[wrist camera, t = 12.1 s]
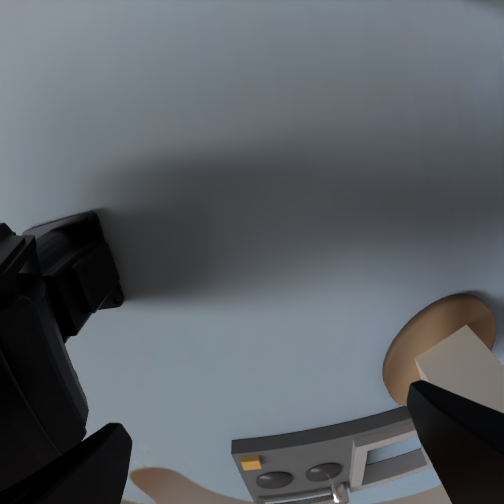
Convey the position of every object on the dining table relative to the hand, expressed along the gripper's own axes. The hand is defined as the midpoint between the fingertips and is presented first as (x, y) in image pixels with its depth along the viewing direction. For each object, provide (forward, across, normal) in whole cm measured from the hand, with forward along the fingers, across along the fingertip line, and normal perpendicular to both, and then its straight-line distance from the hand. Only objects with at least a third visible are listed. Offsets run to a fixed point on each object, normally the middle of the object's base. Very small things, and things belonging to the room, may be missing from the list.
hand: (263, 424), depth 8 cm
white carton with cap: (+11, +14, -11) cm, 21 cm away
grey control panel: (+12, +6, -23) cm, 26 cm away
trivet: (+12, +14, -11) cm, 21 cm away
